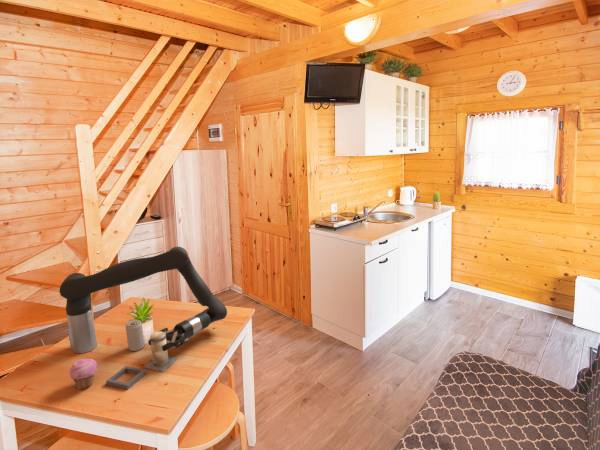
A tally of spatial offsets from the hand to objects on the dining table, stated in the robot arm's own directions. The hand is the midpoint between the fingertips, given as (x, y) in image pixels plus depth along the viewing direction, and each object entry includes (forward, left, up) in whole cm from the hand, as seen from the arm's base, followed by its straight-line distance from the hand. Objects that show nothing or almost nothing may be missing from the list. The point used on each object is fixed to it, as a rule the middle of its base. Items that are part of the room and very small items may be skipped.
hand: (155, 345), depth 144 cm
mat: (0, +1, -8) cm, 9 cm away
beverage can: (-18, +8, -9) cm, 21 cm away
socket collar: (-6, -11, -8) cm, 15 cm away
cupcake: (-18, -18, -9) cm, 26 cm away
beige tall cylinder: (0, +2, -8) cm, 8 cm away
